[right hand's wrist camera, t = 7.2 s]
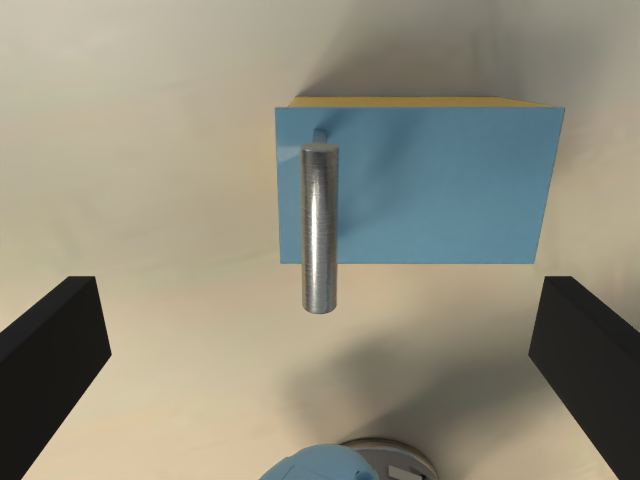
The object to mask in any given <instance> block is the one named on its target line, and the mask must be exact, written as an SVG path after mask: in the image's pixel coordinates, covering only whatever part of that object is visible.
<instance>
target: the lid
mask: <svg viewBox="0 0 640 480" xmlns="http://www.w3.org/2000/svg"><path fill="white" fill-rule="evenodd" d="M564 111H565V108H562V107H276V108H275V128H276V155H277V182H278V209H279V236H280V263H281V264H302V305H303V308H304V309H305V310H306V311H308V312H310V313H314V314H325V313H329V312H331V311H333V310H334V309H335V308H336V305H337V264H534V261H535V256H536V251H537V246H538V241H539V236H540V231H541V226H542V221H543V216H544V211H545V206H546V201H547V196H548V191H549V186H550V181H551V176H552V171H553V166H554V161H555V156H556V151H557V146H558V141H559V136H560V131H561V126H562V121H563V116H564Z"/></svg>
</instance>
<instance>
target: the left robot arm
mask: <svg viewBox="0 0 640 480" xmlns="http://www.w3.org/2000/svg"><path fill="white" fill-rule="evenodd" d="M259 480H438V479H437V475H436V472H435V470H434V468H433V466H432V465H431V463H430V462H429V461H428V459H427V458H426V457H425V456H423V455H422V454H421V453H420V452H418V451H417V450H415V449H413V448H412V447H409V446H407V445H405V444H402V443H399V442H395V441H391V440H384V439H365V440H358V441H353V442H349V443H346V444H343V445H337V444H321V445H315V446H311V447H308V448H305V449H302V450H300V451H299V452H298V453H296V454H294V455H293V456H290V457H286V458H284V459H283V460H281V461H280V462H278V463H277V464H276V465H275V466H273V467H272V468H271V469H270V470H268V471H267V472H266V473H265V474H264V475H263V476H262V477H261V478H260V479H259Z"/></svg>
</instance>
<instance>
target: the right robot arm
mask: <svg viewBox="0 0 640 480" xmlns="http://www.w3.org/2000/svg"><path fill="white" fill-rule="evenodd" d="M111 355H112V354H111V349H110V344H109V340H108V335H107V330H106V326H105V321H104V316H103V312H102V307H101V302H100V298H99V293H98V288H97V284H96V279H95V276H69V277H67V278H66V279H65V280H64V281H62V282H61V283H60V284H59V285H58V286H56V287H55V288H54V289H53V290H52V291H50V292H49V293H48V294H47V295H46V296H44V297H43V298H42V299H41V300H39V301H38V302H37V303H36V304H35V305H33V306H32V307H31V308H30V309H29V310H27V311H26V312H25V313H24V314H22V315H21V316H20V317H19V318H18V319H16V320H15V321H14V322H13V323H12V324H10V325H9V326H8V327H7V328H6V329H4V330H3V331H2V332H1V333H0V480H21V479H22V478H23V476H24V475H25V473H26V472H27V471H28V469H29V468H30V467H31V465H32V464H33V462H34V461H35V460H36V458H37V457H38V456H39V454H40V453H41V452H42V450H43V449H44V447H45V446H46V445H47V443H48V442H49V441H50V439H51V438H52V436H53V435H54V434H55V432H56V431H57V430H58V428H59V427H60V425H61V424H62V423H63V421H64V420H65V419H66V417H67V416H68V414H69V413H70V412H71V410H72V409H73V408H74V406H75V405H76V403H77V402H78V401H79V399H80V398H81V397H82V395H83V394H84V392H85V391H86V390H87V388H88V387H89V386H90V384H91V383H92V381H93V380H94V379H95V377H96V376H97V375H98V373H99V372H100V370H101V369H102V368H103V366H104V365H105V364H106V362H107V361H108V359H109V358H110V357H111ZM528 355H529V357H530V358H531V359H532V361H533V362H534V364H535V365H536V366H537V368H538V369H539V370H540V372H541V373H542V375H543V376H544V377H545V379H546V380H547V381H548V383H549V384H550V386H551V387H552V388H553V390H554V391H555V392H556V394H557V395H558V397H559V398H560V399H561V401H562V402H563V403H564V405H565V406H566V408H567V409H568V410H569V412H570V413H571V414H572V416H573V417H574V419H575V420H576V421H577V423H578V424H579V425H580V427H581V428H582V430H583V431H584V432H585V434H586V435H587V436H588V438H589V439H590V441H591V442H592V443H593V445H594V446H595V447H596V449H597V450H598V452H599V453H600V454H601V456H602V457H603V458H604V460H605V461H606V462H607V464H608V465H609V467H610V468H611V469H612V471H613V472H614V473H615V475H616V476H617V478H618V479H619V480H640V333H639V332H638V331H637V330H636V329H634V328H633V327H632V326H631V325H630V324H628V323H627V322H626V321H625V320H624V319H622V318H621V317H620V316H619V315H618V314H616V313H615V312H614V311H613V310H611V309H610V308H609V307H608V306H607V305H605V304H604V303H603V302H602V301H601V300H599V299H598V298H597V297H596V296H594V295H593V294H592V293H591V292H590V291H588V290H587V289H586V288H585V287H584V286H582V285H581V284H580V283H579V282H578V281H576V280H575V279H574V278H573V277H571V276H545V279H544V284H543V288H542V293H541V298H540V302H539V307H538V312H537V316H536V321H535V326H534V330H533V335H532V340H531V344H530V349H529V354H528Z"/></svg>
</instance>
